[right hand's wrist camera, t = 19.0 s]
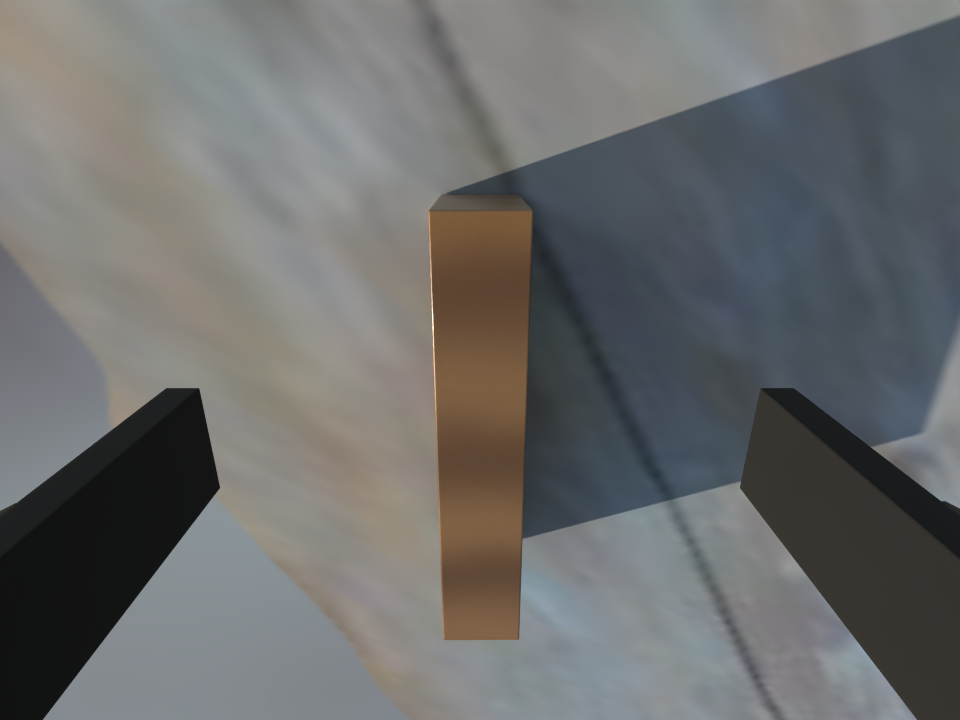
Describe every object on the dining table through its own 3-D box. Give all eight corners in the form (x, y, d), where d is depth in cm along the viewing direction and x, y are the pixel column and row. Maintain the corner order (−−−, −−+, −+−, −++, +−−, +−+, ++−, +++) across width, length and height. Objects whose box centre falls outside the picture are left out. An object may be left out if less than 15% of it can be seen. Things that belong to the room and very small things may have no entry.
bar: (441, 194, 32) (427, 210, 24) (519, 194, 32) (533, 210, 24) (450, 542, 42) (443, 640, 34) (511, 542, 42) (519, 640, 34)
